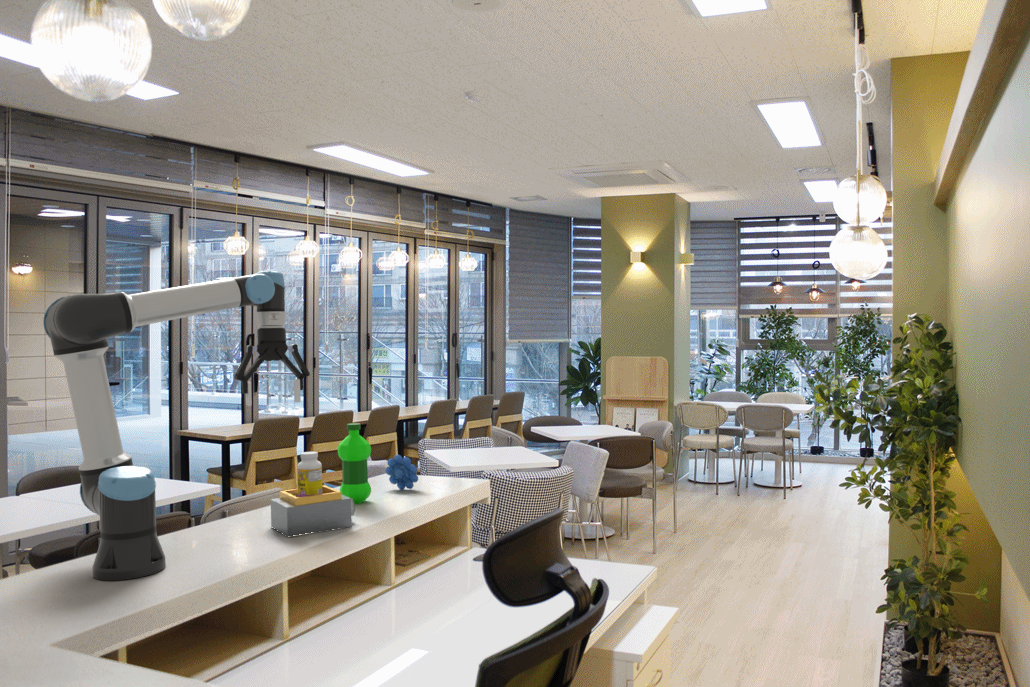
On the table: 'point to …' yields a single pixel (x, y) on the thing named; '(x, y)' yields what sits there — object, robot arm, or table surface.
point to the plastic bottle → (355, 465)
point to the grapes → (402, 472)
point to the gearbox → (311, 511)
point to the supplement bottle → (309, 475)
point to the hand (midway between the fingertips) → (273, 404)
